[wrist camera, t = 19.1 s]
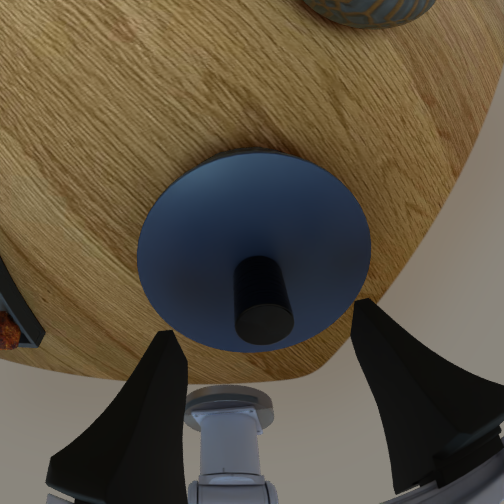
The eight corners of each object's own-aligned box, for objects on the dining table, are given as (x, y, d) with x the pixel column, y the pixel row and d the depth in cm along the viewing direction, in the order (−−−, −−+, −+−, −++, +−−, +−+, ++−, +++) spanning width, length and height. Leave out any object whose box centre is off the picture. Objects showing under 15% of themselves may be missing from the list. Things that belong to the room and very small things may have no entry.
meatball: (31, 330, 20) (15, 359, 17) (11, 329, 20) (-4, 356, 17) (13, 301, 19) (-7, 331, 15) (-6, 303, 19) (-25, 329, 15)
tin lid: (355, 321, 18) (379, 375, 14) (180, 349, 18) (173, 407, 14) (364, 136, 12) (420, 160, 8) (112, 177, 12) (65, 218, 8)
